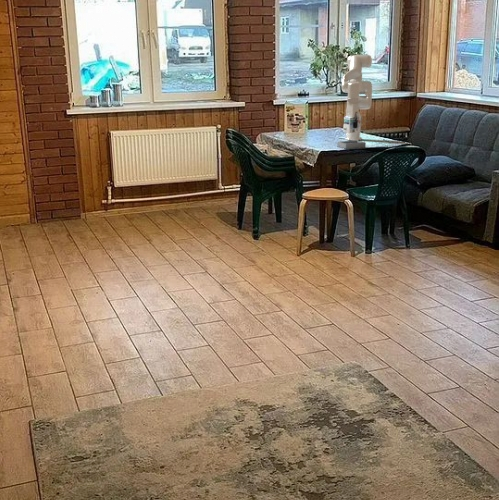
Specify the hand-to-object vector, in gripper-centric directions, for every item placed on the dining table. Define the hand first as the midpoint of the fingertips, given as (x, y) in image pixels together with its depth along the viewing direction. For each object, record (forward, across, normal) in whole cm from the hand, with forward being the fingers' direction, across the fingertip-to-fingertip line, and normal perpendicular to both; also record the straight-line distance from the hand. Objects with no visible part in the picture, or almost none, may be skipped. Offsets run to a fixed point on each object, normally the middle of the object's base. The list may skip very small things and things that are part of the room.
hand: (352, 127), depth 490 cm
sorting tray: (+14, 0, 0) cm, 14 cm away
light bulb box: (+4, 0, 0) cm, 4 cm away
